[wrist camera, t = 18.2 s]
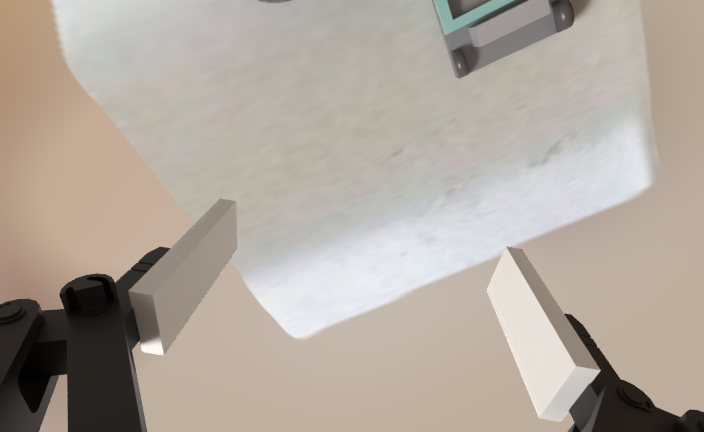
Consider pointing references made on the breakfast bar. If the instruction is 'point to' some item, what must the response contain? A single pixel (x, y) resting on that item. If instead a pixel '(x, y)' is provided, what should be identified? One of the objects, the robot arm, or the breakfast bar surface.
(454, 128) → the breakfast bar surface
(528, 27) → the toy car chassis
